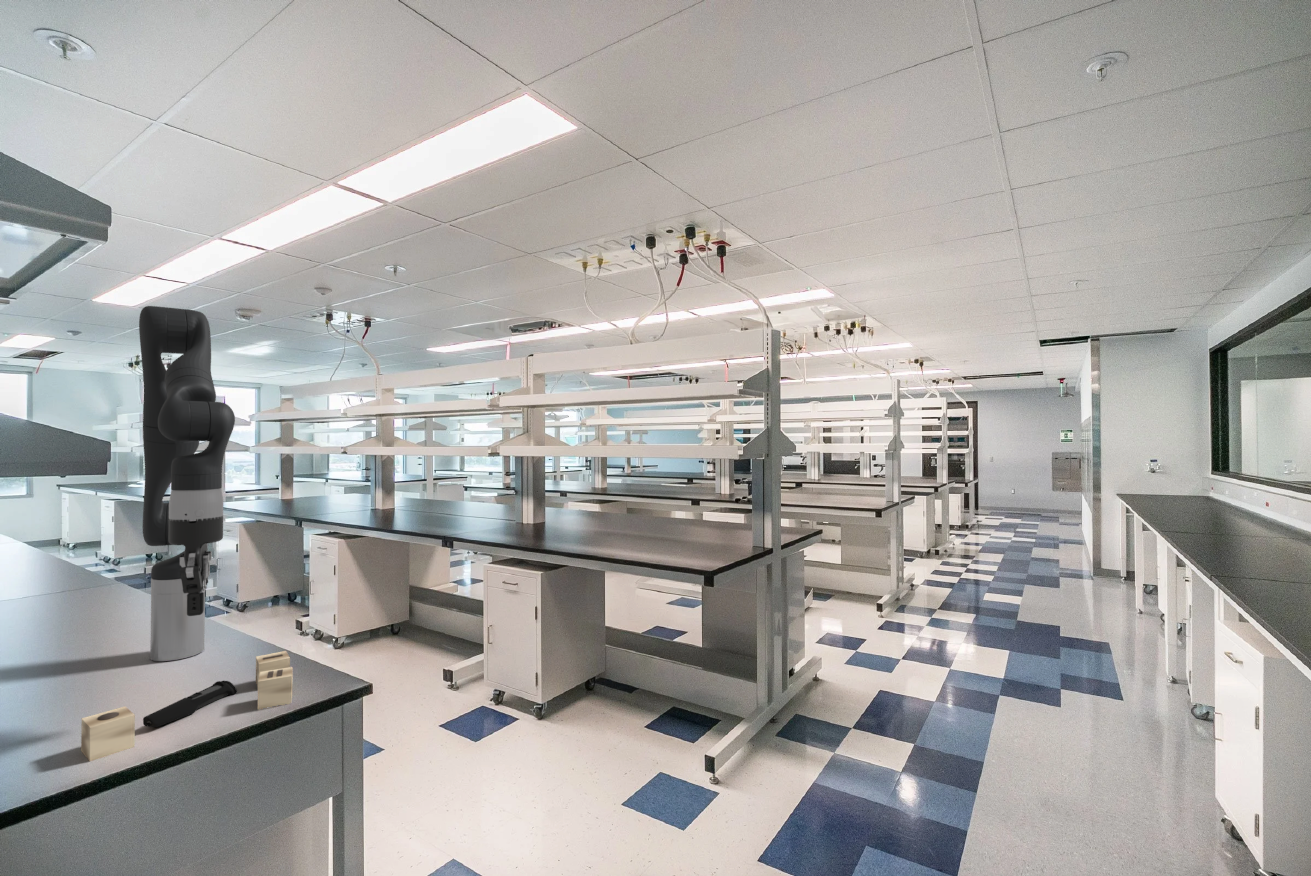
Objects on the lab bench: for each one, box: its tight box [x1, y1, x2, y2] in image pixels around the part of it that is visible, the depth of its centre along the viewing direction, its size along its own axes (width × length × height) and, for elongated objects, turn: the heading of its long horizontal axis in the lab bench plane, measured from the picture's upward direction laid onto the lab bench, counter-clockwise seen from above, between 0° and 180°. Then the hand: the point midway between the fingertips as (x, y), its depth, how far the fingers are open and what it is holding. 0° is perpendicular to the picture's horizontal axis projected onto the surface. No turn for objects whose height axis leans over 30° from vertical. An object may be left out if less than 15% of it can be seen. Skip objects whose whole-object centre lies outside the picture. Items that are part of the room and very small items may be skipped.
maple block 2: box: [255, 650, 291, 688], centre depth 114 cm, size 5×5×5 cm
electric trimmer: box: [142, 680, 238, 728], centre depth 102 cm, size 4×16×3 cm, turn 170°
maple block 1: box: [80, 705, 136, 762], centre depth 89 cm, size 5×5×5 cm
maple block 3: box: [257, 666, 294, 711], centre depth 106 cm, size 5×5×5 cm
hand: (195, 614), depth 102 cm, fingers closed
